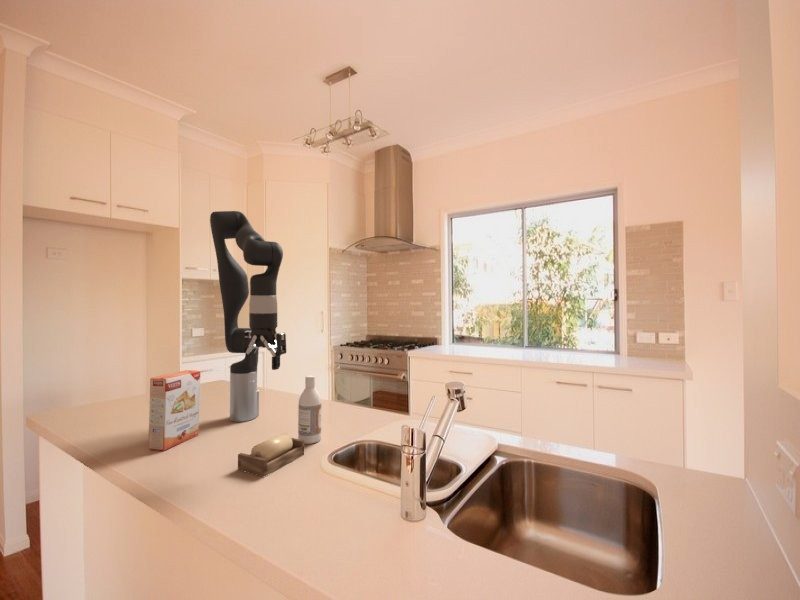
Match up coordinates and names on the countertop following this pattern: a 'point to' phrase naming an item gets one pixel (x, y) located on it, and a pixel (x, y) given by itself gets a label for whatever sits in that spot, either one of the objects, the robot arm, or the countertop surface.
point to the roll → (273, 447)
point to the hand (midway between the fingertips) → (263, 368)
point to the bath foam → (309, 413)
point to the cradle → (264, 468)
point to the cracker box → (173, 409)
